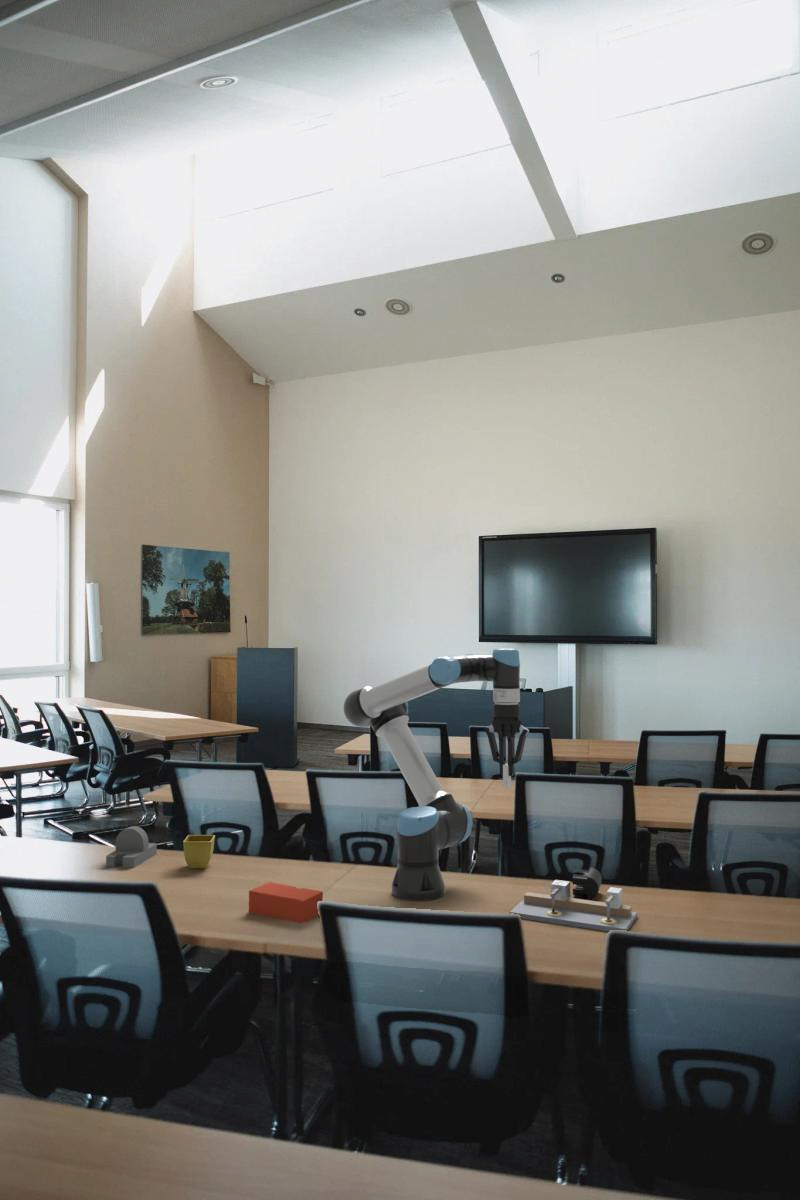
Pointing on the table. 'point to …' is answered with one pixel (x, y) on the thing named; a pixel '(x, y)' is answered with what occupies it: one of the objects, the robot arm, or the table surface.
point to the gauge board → (578, 911)
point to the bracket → (131, 848)
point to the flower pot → (198, 850)
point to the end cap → (586, 884)
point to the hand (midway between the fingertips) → (507, 787)
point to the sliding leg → (559, 891)
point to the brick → (285, 902)
